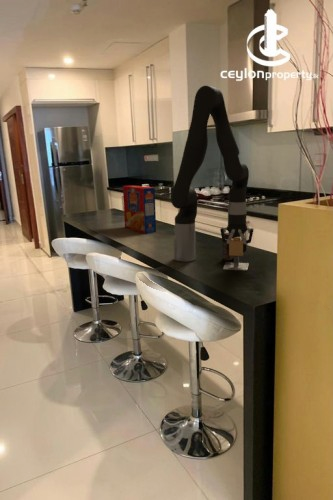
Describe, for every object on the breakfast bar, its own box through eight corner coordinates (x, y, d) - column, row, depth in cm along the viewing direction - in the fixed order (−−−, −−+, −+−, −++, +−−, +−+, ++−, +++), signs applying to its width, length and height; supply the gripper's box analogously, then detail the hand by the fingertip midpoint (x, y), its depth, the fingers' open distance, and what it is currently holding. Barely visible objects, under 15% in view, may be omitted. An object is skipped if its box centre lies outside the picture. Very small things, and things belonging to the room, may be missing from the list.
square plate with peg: (223, 269, 163) (223, 259, 162) (225, 263, 172) (225, 253, 171) (247, 270, 160) (247, 260, 159) (248, 264, 169) (249, 254, 168)
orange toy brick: (229, 255, 163) (229, 239, 161) (230, 252, 168) (230, 236, 166) (242, 255, 161) (242, 239, 160) (243, 252, 166) (243, 236, 165)
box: (230, 256, 183) (231, 231, 180) (238, 258, 179) (238, 232, 176) (221, 258, 179) (222, 233, 176) (229, 260, 176) (229, 234, 173)
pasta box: (124, 227, 263) (122, 186, 256) (135, 226, 267) (133, 185, 260) (145, 234, 240) (143, 188, 233) (156, 232, 244) (154, 187, 237)
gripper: (218, 213, 159) (218, 253, 163) (254, 214, 155) (253, 255, 159) (220, 211, 166) (220, 249, 170) (255, 211, 162) (254, 250, 166)
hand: (236, 252), depth 164 cm, fingers closed on orange toy brick, 5 cm apart
